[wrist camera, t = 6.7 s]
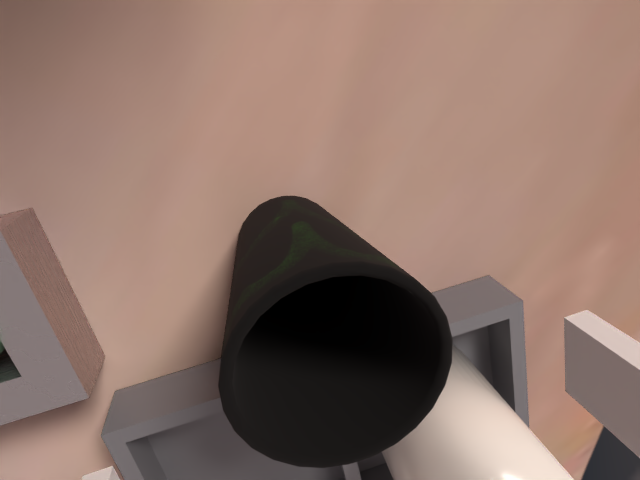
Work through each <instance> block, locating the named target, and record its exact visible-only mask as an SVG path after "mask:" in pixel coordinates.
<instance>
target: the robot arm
mask: <svg viewBox="0 0 640 480" xmlns="http://www.w3.org/2000/svg"><path fill="white" fill-rule="evenodd" d="M564 338H565V391H566V392H567V393H568V394H569V395H571V396H572V397H573V398H574V399H575V400H576V401H577V402H578V403H579V404H581V405H582V406H583V407H584V408H585V409H586V410H587V411H588V412H589V413H590V414H592V415H593V416H594V417H595V418H596V419H597V420H598V421H599V422H600V423H602V424H603V425H604V426H605V427H606V428H607V429H608V430H609V431H611V433H613V434H614V435H615V436H616V437H617V438H618V439H619V440H620V441H621V442H623V443H624V444H625V445H626V446H627V447H628V448H629V449H630V450H632V451H633V452H634V453H635V454H636V455H637V456H638V457H639V458H640V343H639V342H638V341H636V340H634V339H633V338H631V337H630V336H628V335H626V334H625V333H623V332H622V331H620V330H619V329H617V328H615V327H614V326H612V325H611V324H609V323H607V322H606V321H604V320H603V319H601V318H600V317H598V316H596V315H595V314H593V313H592V312H590V311H588V310H585V311H582V312H579V313H576V314H573V315H570V316H567V317H564ZM82 480H120V478H119V476H118V475H117V473H116V471H115V469H114V467H113V466H111V467H107V468H104V469H101V470H98V471H95V472H92V473H89V474H86V475H83V477H82Z"/></svg>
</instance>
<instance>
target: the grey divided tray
mask: <svg viewBox="0 0 640 480" xmlns="http://www.w3.org/2000/svg"><path fill="white" fill-rule="evenodd" d="M432 294H433V295H434V296H435V298H436V299H437V301H438V303H439V304H440V306H441V308H442V309H443V311H444V313H445V314H446V316H447V319H448V323H449V327H450V331H451V335H452V338H453V344H452V345H454V346H456V347H457V348H459V349H460V350H461V351H462V352H463V353H464V354H465V356H466V357H467V358H468V359H469V360H470V361H471V362H472V364H473V365H474V366H475V367H476V368H477V369H478V370H479V372H480V373H481V374H482V375H483V376H484V377H485V378H486V380H487V381H488V382H489V383H490V384H491V385H492V386H493V388H494V389H495V390H496V391H497V392H498V393H499V394H500V396H501V397H502V398H503V399H504V400H505V401H506V402H507V404H508V405H509V406H510V407H511V408H512V409H513V410H514V412H515V413H516V414H517V415H518V416H519V417H520V418H521V420H522V421H523V422H524V423H525V424H526V425H527V426H528V428H529V414H528V393H527V373H526V352H525V332H524V312H523V300H521V299H520V298H519V297H517V296H516V295H515V294H513V293H512V292H511V291H509V290H508V289H507V288H505V287H504V286H503V285H501V284H500V283H499V282H497V281H496V280H495V279H493V278H492V277H491V276H489V275H488V276H485V277H482V278H478V279H475V280H472V281H469V282H466V283H462V284H459V285H456V286H453V287H449V288H446V289H443V290H440V291H436V292H433V293H432ZM220 363H221V358H220V359H217V360H214V361H211V362H207V363H204V364H201V365H198V366H195V367H191V368H188V369H185V370H182V371H178V372H175V373H172V374H169V375H166V376H162V377H159V378H156V379H153V380H149V381H146V382H143V383H140V384H137V385H133V386H130V387H127V388H124V389H120V390H117V391H115V393H114V396H113V399H112V402H111V405H110V409H109V412H108V415H107V418H106V421H105V424H104V427H103V430H102V434H101V437H102V439H103V441H104V443H105V444H106V446H107V448H108V450H109V452H110V454H111V456H112V457H113V459H114V461H115V463H116V465H117V467H118V468H119V470H120V472H121V474H122V476H123V478H124V480H394V479H393V477H392V475H391V473H390V470H389V468H388V466H387V463H386V461H385V459H384V456H383V454H382V452H380V453H378V454H377V455H375V456H372V457H369V458H366V459H364V460H361V461H358V462H355V463H352V464H348V465H341V466H334V467H327V468H315V467H298V466H294V465H290V464H286V463H283V462H279V461H275V460H272V459H271V458H269V457H267V456H265V455H263V454H261V453H260V452H258V451H256V450H254V449H252V448H251V447H250V446H249V445H248V444H247V443H246V442H245V441H244V440H243V439H242V438H241V437H240V436H239V435H238V434H237V433H236V432H235V431H234V429H233V428H232V426H231V424H230V422H229V420H228V419H227V417H226V415H225V413H224V411H223V408H222V403H221V398H220V393H219V388H218V383H219V373H220Z"/></svg>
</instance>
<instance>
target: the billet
mask: <svg viewBox="0 0 640 480" xmlns="http://www.w3.org/2000/svg"><path fill="white" fill-rule="evenodd" d="M382 454H383V456H384V459H385V461H386V463H387V466H388V468H389V470H390V473H391V475H392V477H393V479H394V480H574V479H573V478H572V477H571V476H570V475H569V473H568V472H567V471H566V470H565V469H564V468H563V467H562V465H561V464H560V463H559V462H558V461H557V460H556V459H555V457H554V456H553V455H552V454H551V453H550V452H549V451H548V449H547V448H546V447H545V446H544V445H543V444H542V443H541V441H540V440H539V439H538V438H537V437H536V436H535V434H534V433H533V432H532V431H531V430H530V429H529V428H528V426H527V425H526V424H525V423H524V422H523V421H522V420H521V418H520V417H519V416H518V415H517V414H516V413H515V412H514V410H513V409H512V408H511V407H510V406H509V405H508V404H507V402H506V401H505V400H504V399H503V398H502V397H501V396H500V394H499V393H498V392H497V391H496V390H495V389H494V388H493V386H492V385H491V384H490V383H489V382H488V381H487V380H486V378H485V377H484V376H483V375H482V374H481V373H480V372H479V370H478V369H477V368H476V367H475V366H474V365H473V364H472V362H471V361H470V360H469V359H468V358H467V357H466V356H465V354H464V353H463V352H462V351H461V350H460V349H459V348H457V347H456V346H454V345H452V364H451V368H450V371H449V375H448V378H447V382H446V385H445V387H444V389H443V391H442V392H441V394H440V396H439V398H438V400H437V402H436V403H435V405H434V407H433V409H432V410H431V411H430V412H429V413H428V415H427V416H426V417H425V418H424V419H423V420H422V422H421V423H420V424H419V425H418V426H417V427H416V428H415V429H414V430H413V431H412V432H410V433H409V434H408V435H407V436H405V437H404V438H403V439H402V440H400V441H399V442H398V443H397V444H395V445H393V446H391V447H389V448H388V449H386V450H384V451H382Z"/></svg>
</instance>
